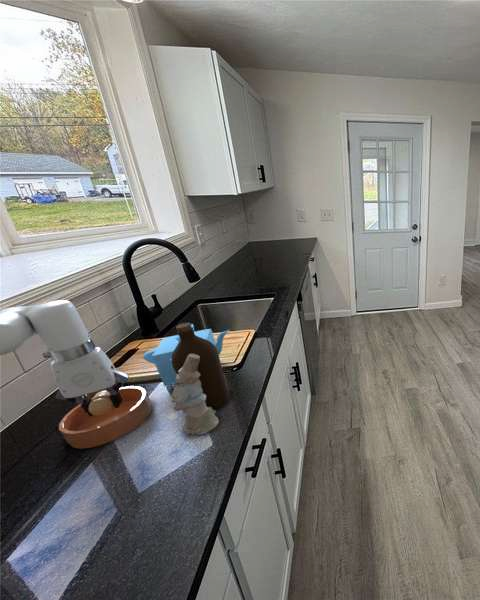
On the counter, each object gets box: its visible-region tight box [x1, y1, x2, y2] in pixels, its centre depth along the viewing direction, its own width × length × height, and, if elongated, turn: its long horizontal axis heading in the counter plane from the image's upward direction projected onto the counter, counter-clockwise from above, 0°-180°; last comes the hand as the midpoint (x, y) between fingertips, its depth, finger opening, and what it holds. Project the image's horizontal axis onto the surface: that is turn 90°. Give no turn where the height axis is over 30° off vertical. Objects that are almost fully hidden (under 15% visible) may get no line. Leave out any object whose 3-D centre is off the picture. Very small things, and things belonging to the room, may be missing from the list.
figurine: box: [170, 354, 220, 436], centre depth 78 cm, size 9×8×20 cm
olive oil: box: [171, 322, 231, 411], centre depth 85 cm, size 11×11×25 cm
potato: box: [89, 390, 113, 416], centre depth 83 cm, size 8×5×5 cm, turn 28°
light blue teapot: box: [142, 323, 231, 387], centre depth 101 cm, size 19×19×15 cm
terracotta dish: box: [58, 385, 153, 450], centre depth 84 cm, size 18×18×5 cm
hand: (105, 408), depth 83 cm, fingers closed on potato, 4 cm apart
